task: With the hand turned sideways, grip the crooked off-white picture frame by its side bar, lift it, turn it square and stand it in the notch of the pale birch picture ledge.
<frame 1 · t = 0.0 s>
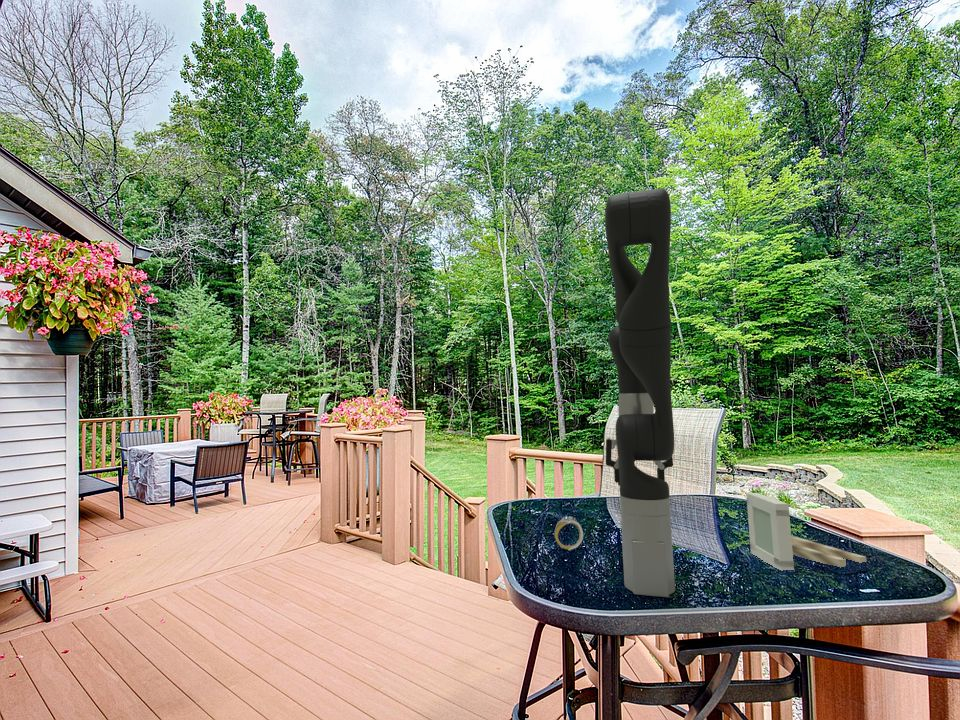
hand: (639, 485, 103), 17 cm above the table, tool pointing down, fingers open, 8 cm apart
ledge: (808, 558, 104), on the table
frame: (771, 563, 102), on the table
bracelet: (569, 550, 113), on the table
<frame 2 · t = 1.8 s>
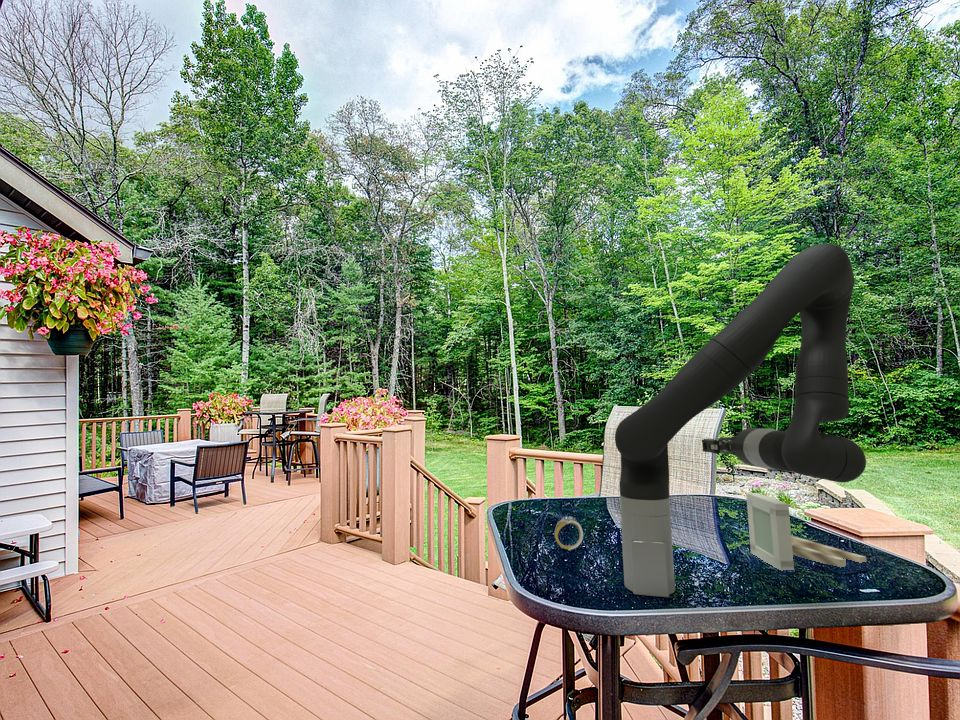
hand: (725, 443, 104), 26 cm above the table, tool horizontal, fingers open, 8 cm apart
nothing on the table moved.
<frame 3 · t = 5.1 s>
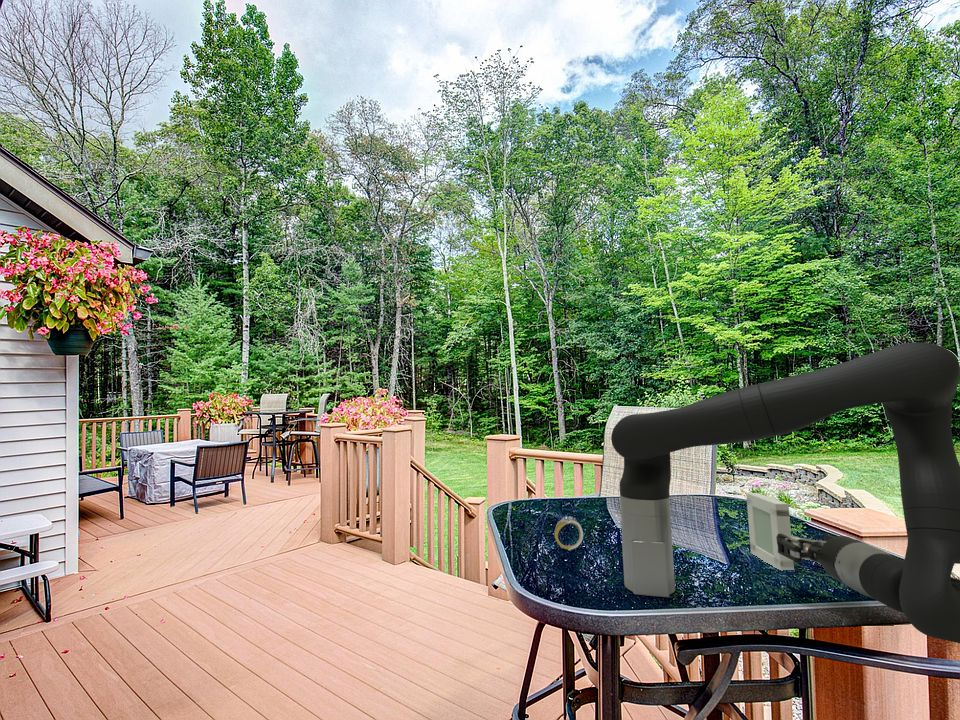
hand: (802, 539, 90), 9 cm above the table, tool horizontal, fingers open, 8 cm apart
nothing on the table moved.
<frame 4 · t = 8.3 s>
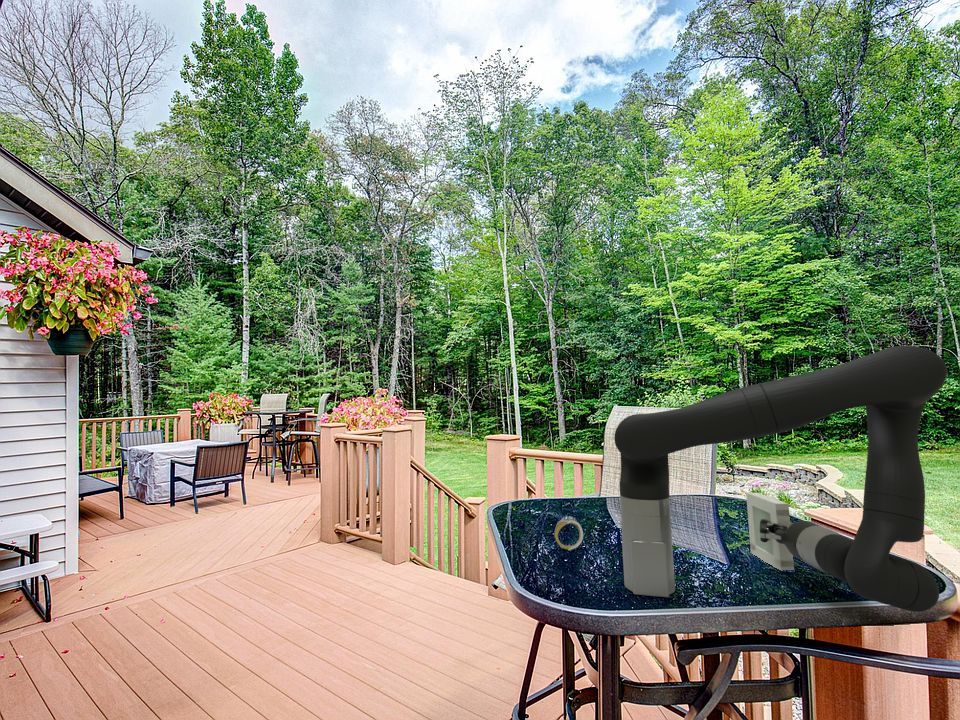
hand: (770, 524, 101), 9 cm above the table, tool horizontal, fingers closed on frame, 2 cm apart
frame: (771, 562, 102), on the table, touching gripper
everything else where it was.
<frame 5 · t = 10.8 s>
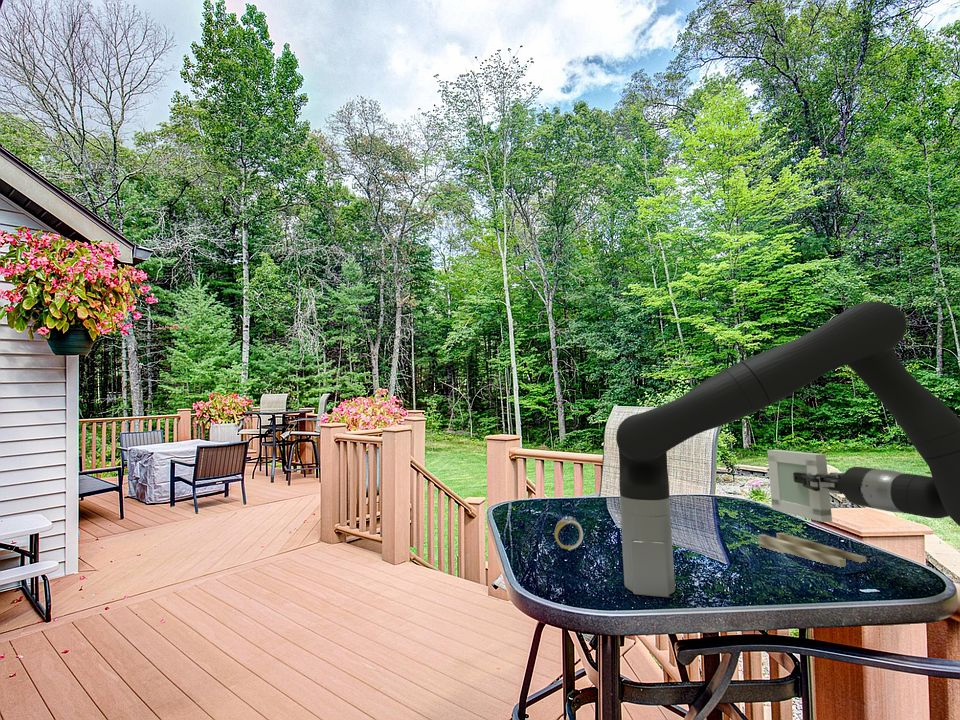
hand: (800, 476, 104), 18 cm above the table, tool horizontal, fingers closed on frame, 2 cm apart
frame: (800, 514, 104), point 10 cm above the table, touching gripper
everything else where it was.
when the fingers open (10 cm above the table, at t = 13.8 s): frame stays where it is, resting on ledge.
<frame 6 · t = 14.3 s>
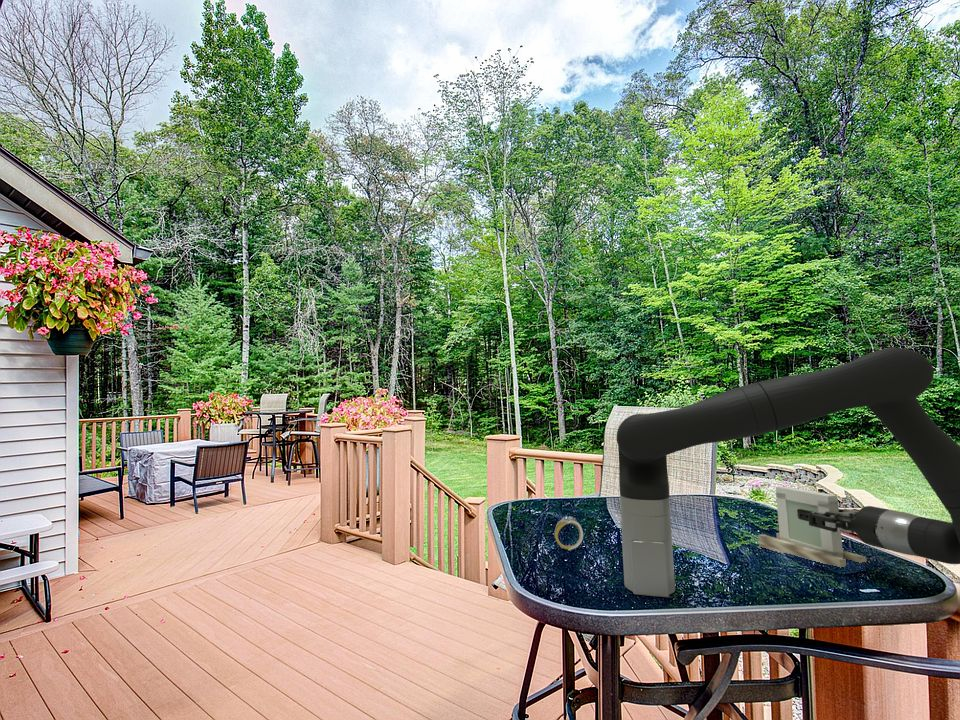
hand: (812, 512, 103), 11 cm above the table, tool horizontal, fingers open, 7 cm apart
frame: (810, 554, 104), point 1 cm above the table, touching ledge
everything else where it was.
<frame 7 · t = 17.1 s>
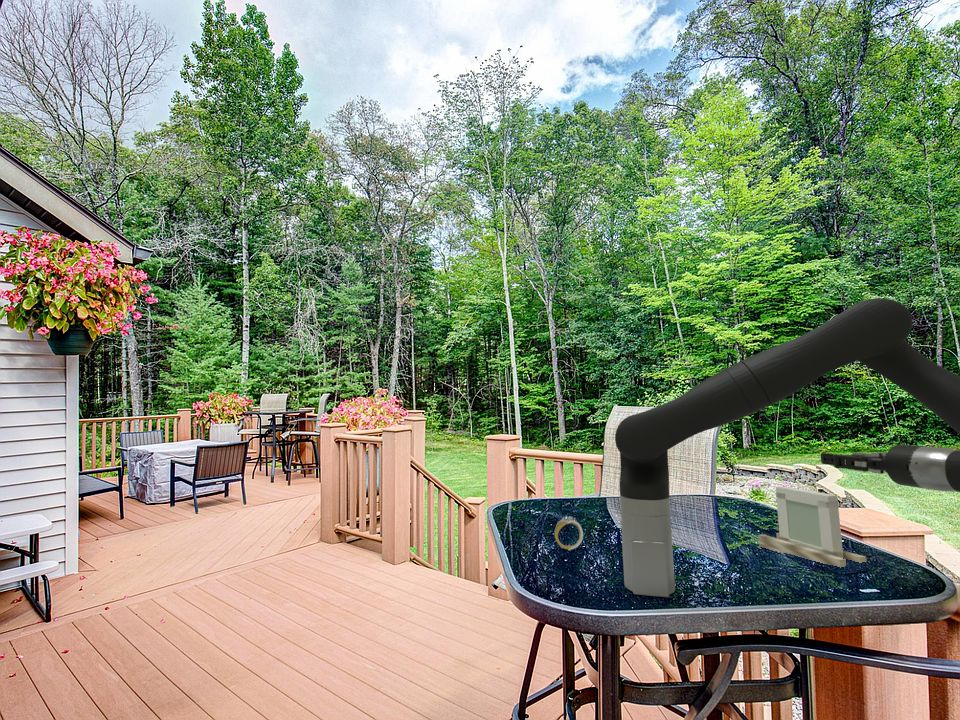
hand: (837, 457, 98), 23 cm above the table, tool horizontal, fingers open, 8 cm apart
nothing on the table moved.
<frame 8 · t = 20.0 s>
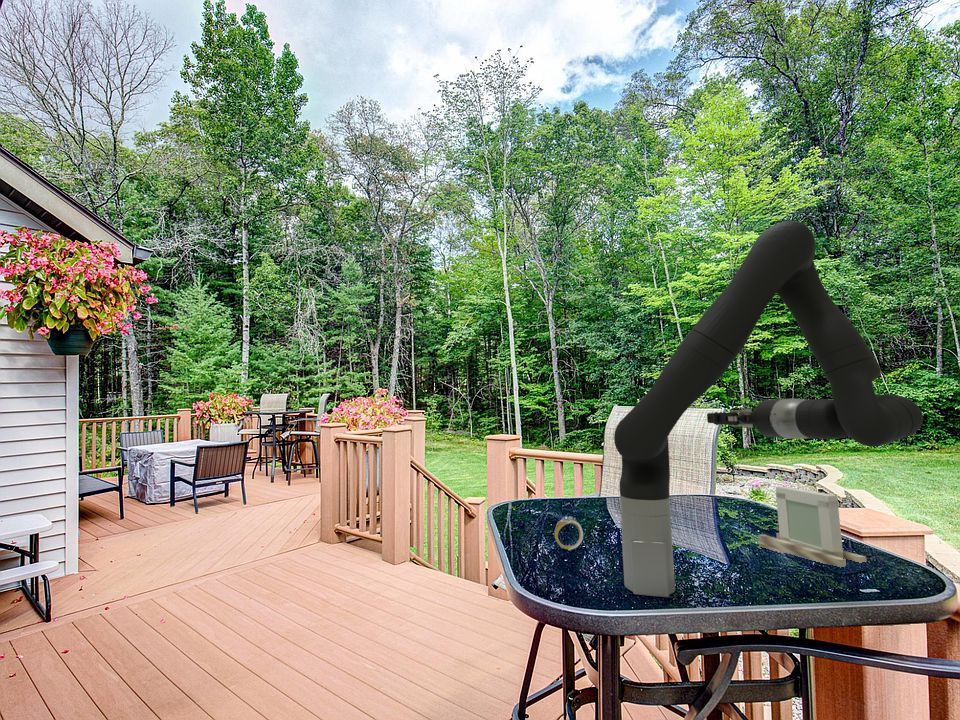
hand: (724, 417, 104), 32 cm above the table, tool horizontal, fingers open, 8 cm apart
nothing on the table moved.
at the end: frame 0.4 cm off-centre on the ledge, point 1.0 cm above the ledge's base; frame tilted 0°; the gripper is holding nothing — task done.
